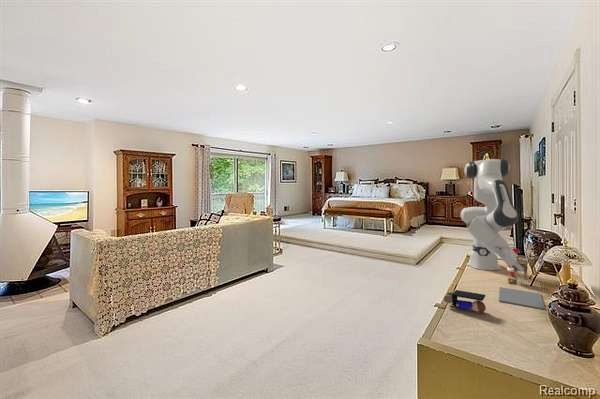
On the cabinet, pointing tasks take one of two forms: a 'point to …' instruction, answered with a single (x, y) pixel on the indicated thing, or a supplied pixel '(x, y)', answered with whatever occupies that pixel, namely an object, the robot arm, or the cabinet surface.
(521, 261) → the stool
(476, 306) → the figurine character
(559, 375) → the cabinet surface
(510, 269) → the santa figurine
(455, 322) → the cabinet surface
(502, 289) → the mat
